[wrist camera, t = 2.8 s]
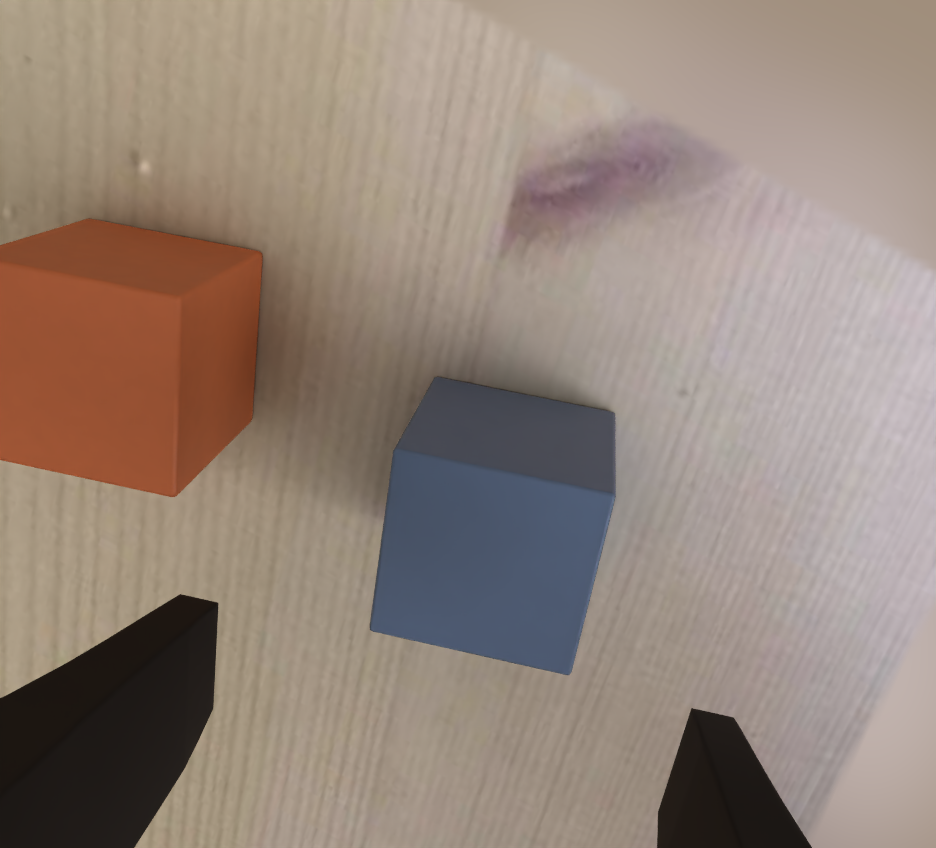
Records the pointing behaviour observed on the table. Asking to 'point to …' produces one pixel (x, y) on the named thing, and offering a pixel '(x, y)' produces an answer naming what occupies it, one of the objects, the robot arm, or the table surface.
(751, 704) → the table surface
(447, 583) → the blue block
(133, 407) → the terracotta block
